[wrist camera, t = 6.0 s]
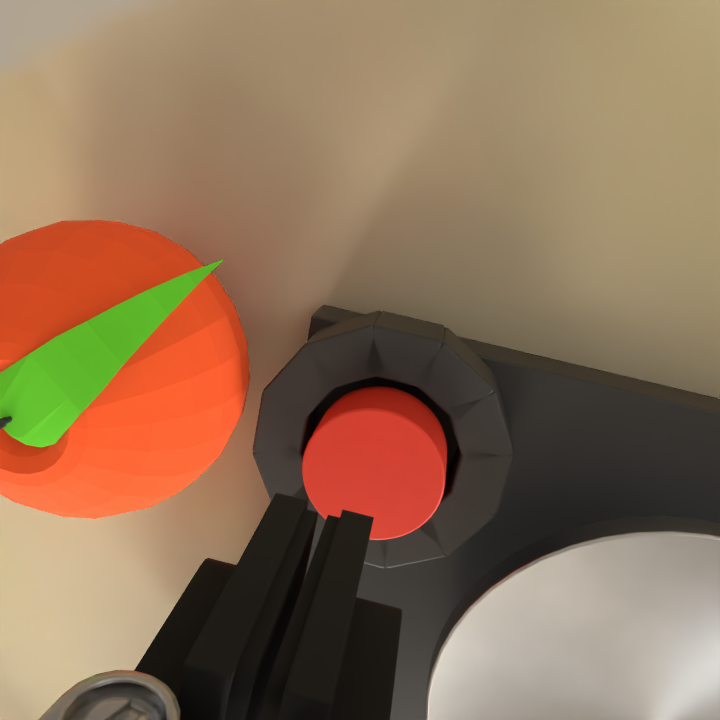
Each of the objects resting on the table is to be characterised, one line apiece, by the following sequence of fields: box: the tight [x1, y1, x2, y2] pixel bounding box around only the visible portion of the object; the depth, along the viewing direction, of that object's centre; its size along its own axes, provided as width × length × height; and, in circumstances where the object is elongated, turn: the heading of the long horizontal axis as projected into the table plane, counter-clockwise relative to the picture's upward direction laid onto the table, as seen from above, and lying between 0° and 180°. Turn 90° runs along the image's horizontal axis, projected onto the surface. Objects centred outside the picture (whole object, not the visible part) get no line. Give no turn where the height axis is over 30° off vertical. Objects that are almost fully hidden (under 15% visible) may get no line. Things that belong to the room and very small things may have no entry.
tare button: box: [302, 386, 447, 540], centre depth 15 cm, size 3×3×2 cm
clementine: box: [0, 220, 250, 519], centre depth 15 cm, size 8×7×7 cm
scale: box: [253, 305, 720, 720], centre depth 18 cm, size 16×14×3 cm
